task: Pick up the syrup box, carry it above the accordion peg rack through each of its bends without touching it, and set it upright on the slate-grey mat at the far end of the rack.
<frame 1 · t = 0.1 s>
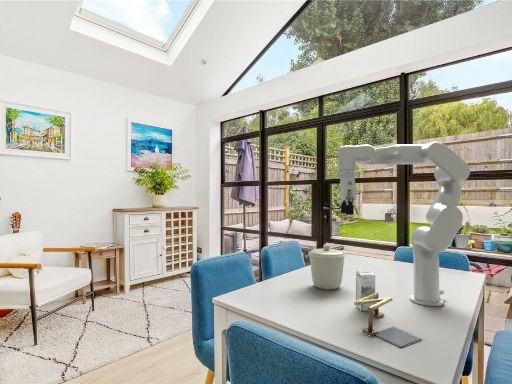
hand: (347, 213, 133), 37 cm above the table, tool pointing down, fingers open, 9 cm apart
canister: (326, 287, 151), on the table
accordion peg rack: (373, 324, 107), on the table
slate mat: (396, 337, 97), on the table
syrup box: (365, 309, 122), on the table
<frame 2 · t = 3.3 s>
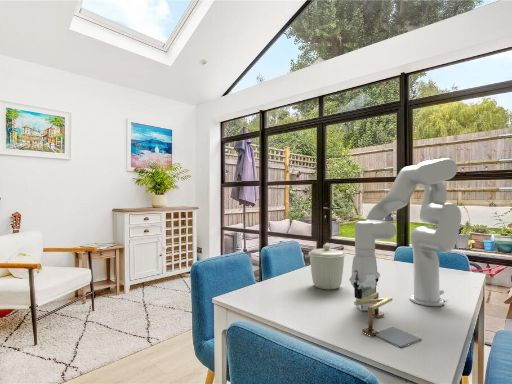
hand: (365, 296, 122), 5 cm above the table, tool pointing down, fingers closed on syrup box, 7 cm apart
syrup box: (365, 309, 122), on the table, touching gripper
everything else where it was.
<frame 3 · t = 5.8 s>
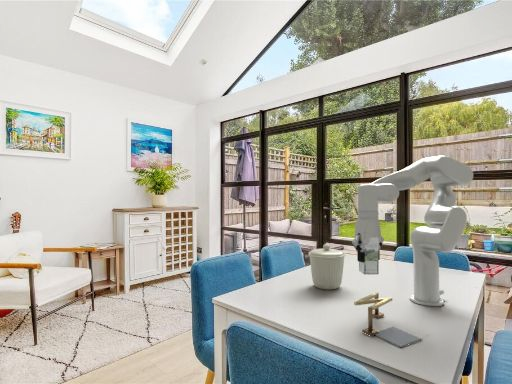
hand: (368, 260, 120), 20 cm above the table, tool pointing down, fingers closed on syrup box, 7 cm apart
syrup box: (368, 273, 120), point 15 cm above the table, touching gripper
everything else where it was.
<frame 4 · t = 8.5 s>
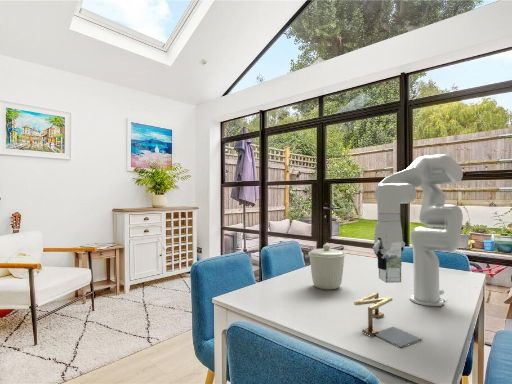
hand: (389, 267, 110), 19 cm above the table, tool pointing down, fingers closed on syrup box, 7 cm apart
syrup box: (390, 281, 110), point 14 cm above the table, touching gripper
everything else where it was.
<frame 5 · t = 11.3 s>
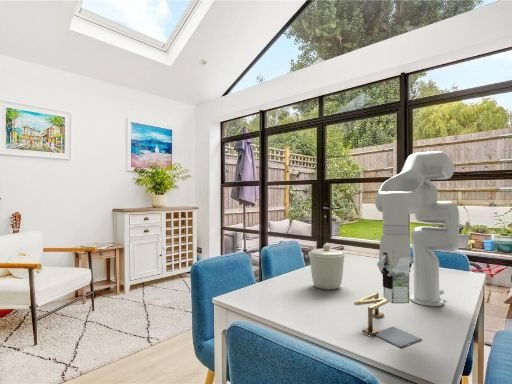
hand: (396, 285, 97), 16 cm above the table, tool pointing down, fingers closed on syrup box, 7 cm apart
syrup box: (396, 301, 97), point 11 cm above the table, touching gripper
everything else where it was.
when the fingers open (7 cm above the table, at t = 13.5 s): syrup box drops 1 cm, resting on slate mat.
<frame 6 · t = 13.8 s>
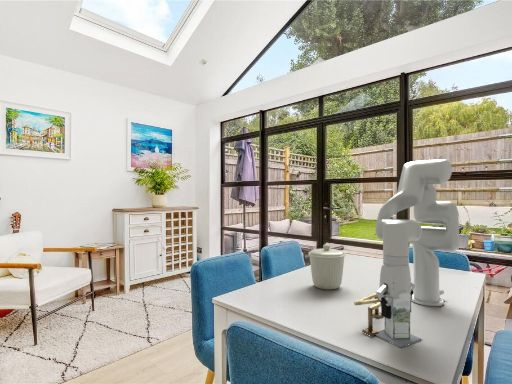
hand: (396, 314, 97), 7 cm above the table, tool pointing down, fingers open, 9 cm apart
syrup box: (397, 335, 98), resting on slate mat
everything else where it was.
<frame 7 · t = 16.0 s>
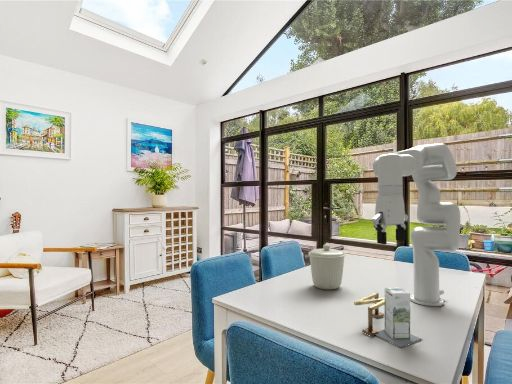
hand: (391, 242, 103), 29 cm above the table, tool pointing down, fingers open, 9 cm apart
nothing on the table moved.
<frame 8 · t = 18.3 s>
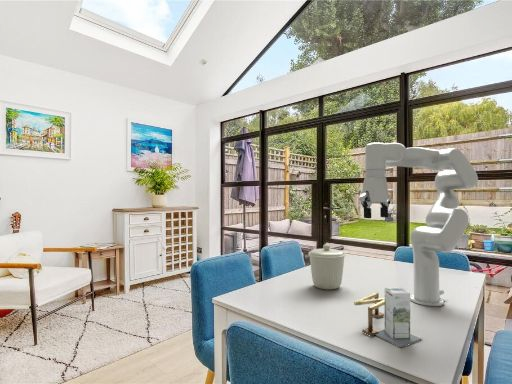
hand: (376, 217, 121), 36 cm above the table, tool pointing down, fingers open, 9 cm apart
nothing on the table moved.
at the end: syrup box 0.4 cm off-centre on the slate mat, point 0.3 cm above the slate mat's base; syrup box tilted 0°; syrup box touching slate mat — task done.
